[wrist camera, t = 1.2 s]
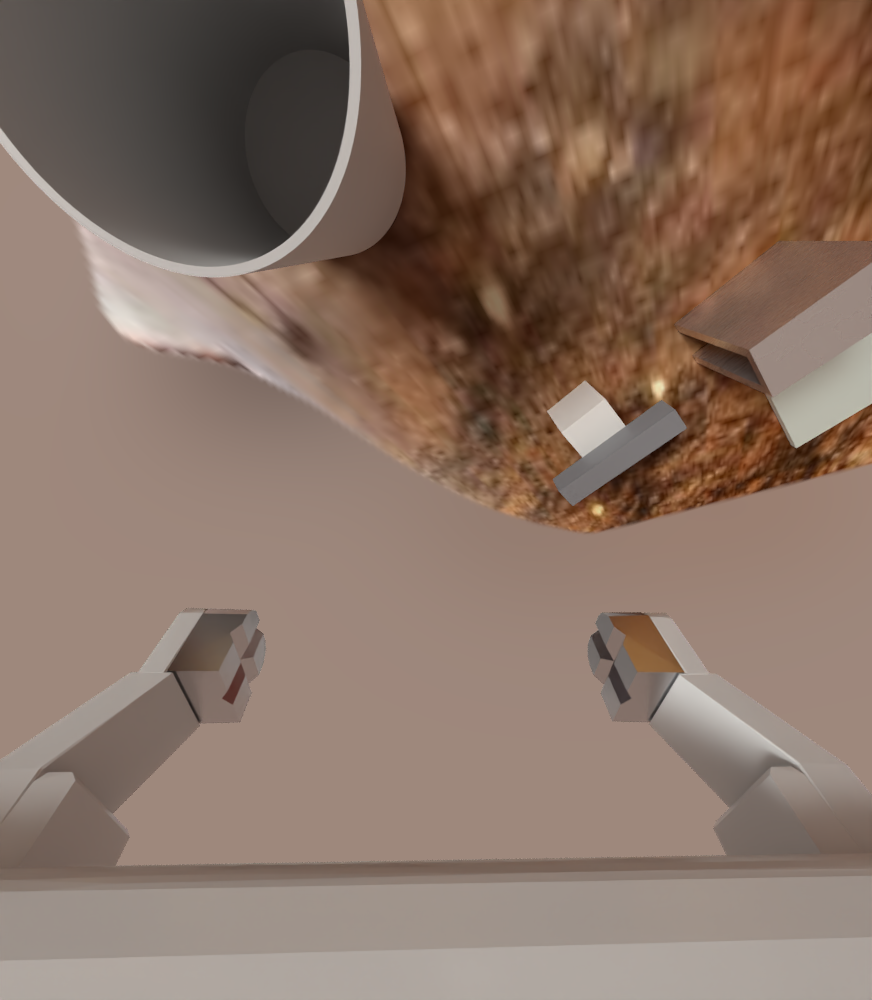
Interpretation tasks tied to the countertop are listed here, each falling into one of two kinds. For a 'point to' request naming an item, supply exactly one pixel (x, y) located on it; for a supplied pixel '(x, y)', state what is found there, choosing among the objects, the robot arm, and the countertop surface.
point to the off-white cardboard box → (585, 418)
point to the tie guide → (786, 313)
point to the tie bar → (619, 452)
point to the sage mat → (826, 394)
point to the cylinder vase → (205, 127)
